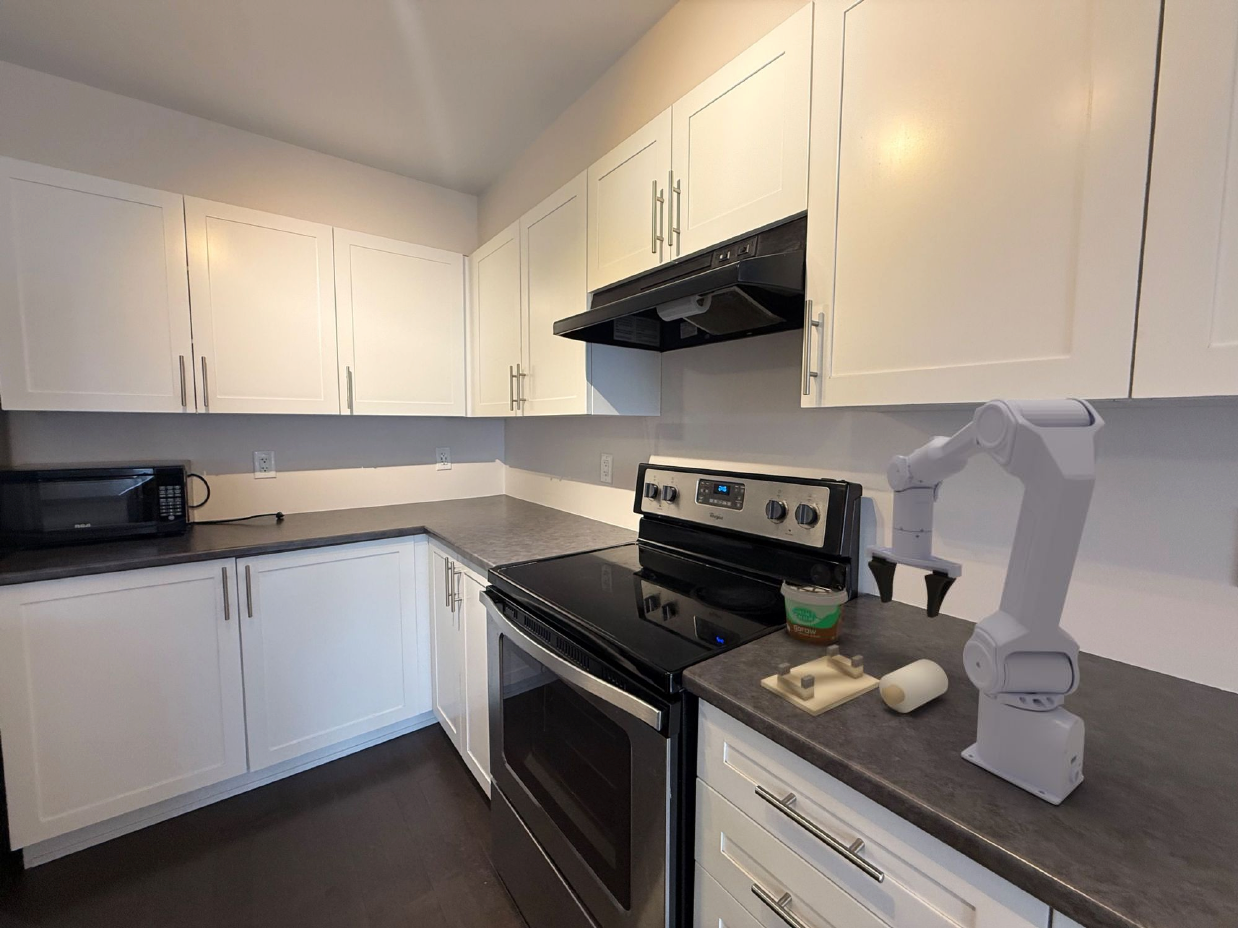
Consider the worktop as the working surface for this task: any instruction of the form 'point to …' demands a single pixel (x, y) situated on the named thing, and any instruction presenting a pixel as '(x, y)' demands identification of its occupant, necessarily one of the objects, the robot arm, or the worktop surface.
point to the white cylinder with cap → (913, 685)
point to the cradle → (821, 682)
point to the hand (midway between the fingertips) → (908, 608)
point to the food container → (813, 613)
